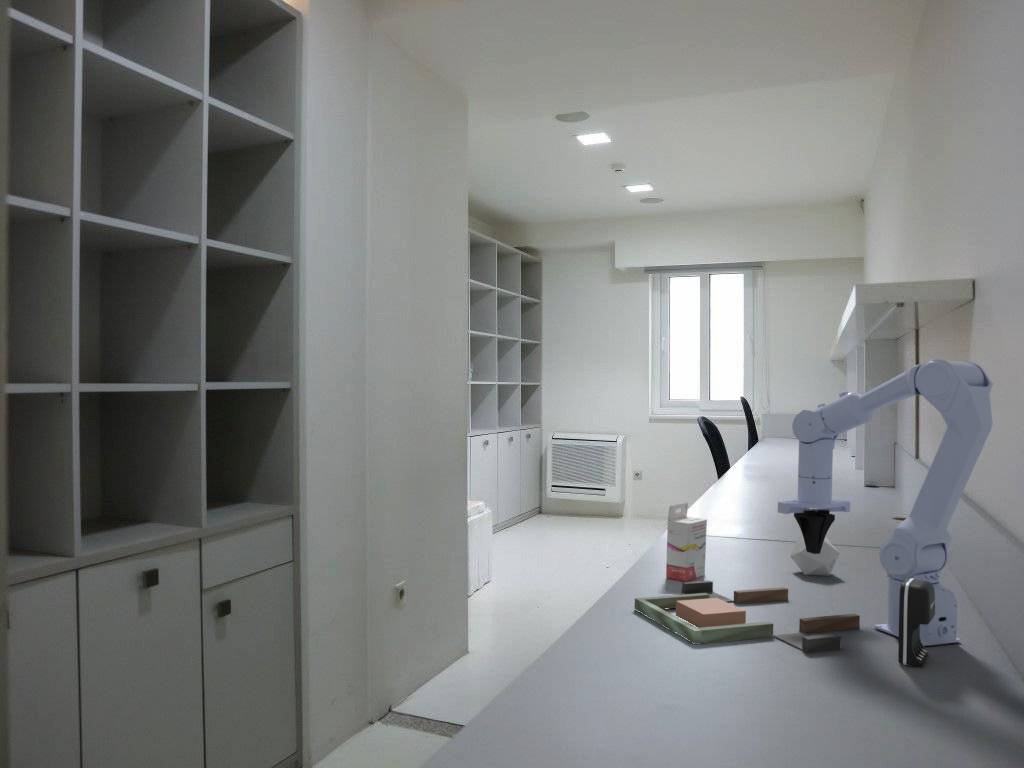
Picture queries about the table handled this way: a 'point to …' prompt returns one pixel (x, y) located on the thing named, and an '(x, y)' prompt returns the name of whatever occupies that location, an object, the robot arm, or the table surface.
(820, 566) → the die
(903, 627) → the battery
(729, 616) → the brick block
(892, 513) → the table surface
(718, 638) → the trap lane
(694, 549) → the ink cartridge box
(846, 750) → the table surface
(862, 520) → the table surface
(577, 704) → the table surface
